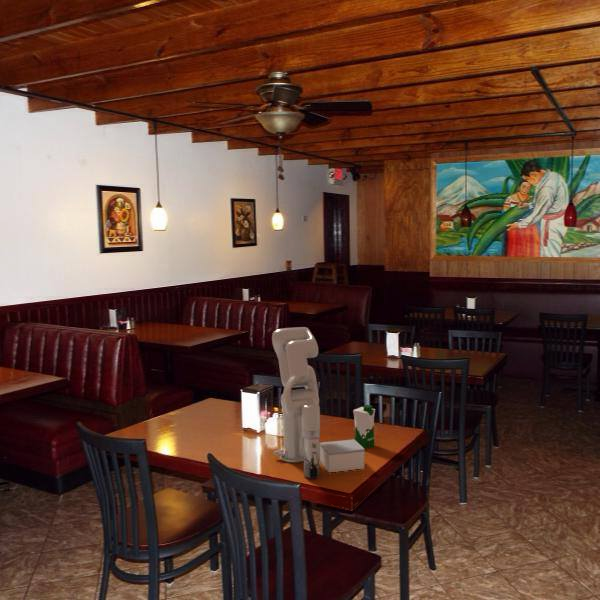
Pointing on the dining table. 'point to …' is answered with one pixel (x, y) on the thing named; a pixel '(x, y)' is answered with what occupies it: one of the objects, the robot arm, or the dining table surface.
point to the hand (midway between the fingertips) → (311, 473)
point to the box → (342, 461)
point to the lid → (341, 447)
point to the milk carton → (364, 426)
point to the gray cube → (307, 468)
